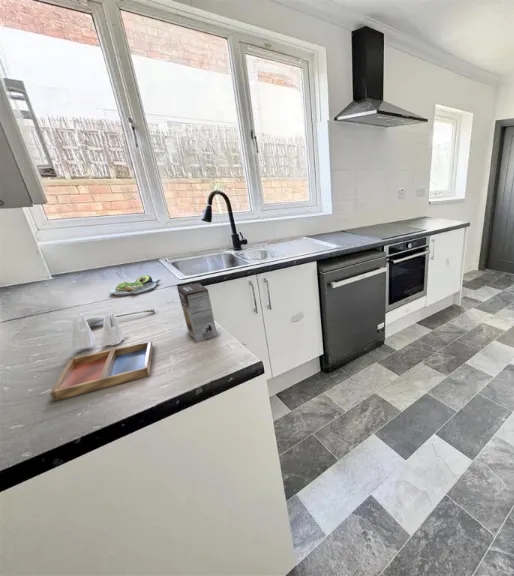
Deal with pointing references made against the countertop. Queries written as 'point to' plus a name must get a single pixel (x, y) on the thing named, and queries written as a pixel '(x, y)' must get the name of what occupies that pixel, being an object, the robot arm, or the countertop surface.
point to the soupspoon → (97, 320)
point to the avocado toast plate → (135, 286)
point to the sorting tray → (103, 370)
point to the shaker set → (85, 337)
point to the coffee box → (197, 311)
